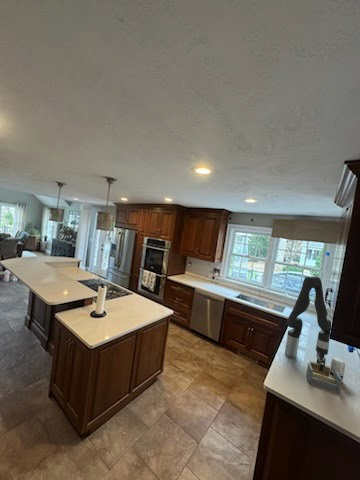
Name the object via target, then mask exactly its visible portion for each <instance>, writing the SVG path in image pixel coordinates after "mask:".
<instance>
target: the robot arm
mask: <svg viewBox="0 0 360 480" xmlns="http://www.w3.org/2000/svg"><path fill="white" fill-rule="evenodd" d="M312 289H313V290H314V293H315V294H314V295H315V297H314V303H313V304H314V308H315V311H316V322H317V326H318V327H319V328H320V331H318V334H317V339H316V346H315V351H316V357H315V358H316V363H319V364H320V366H319V370H320V371H323V367H325V366H326V360H327V358H326V357H325V356H327V355H329V347H330V338H329V337H330V336H331V334H330V330H331V322H332V320H330V319H329V318H327V316H328V310H327V309H328V308H327V306H326V303H325V299H324V298H325V297H324V291H323V283H322V280H321V278H320V277H319V276H318V275H310V276H309V275H308V276H305V277H304V278H303V281H302V286H301V289H300V292H299V294H298V295H297V299H296V301H295V303H294V305H293V308H292V311H291V312H290V313H289V316H288V318H287V321H286V323H287V327H289V328H290V329H289V330H288V331H287V336H286V342H285V349H284V354H285V355H286V356H287V357H289V358H291V359H292V358H293V359H297V357H298V350H299V344H300V343H299V342H300V337H301V335H302V332H303V331H302V330H303V326H304V325H303V320H302V318H300V317H299V316H300V315H301V314H304V313H305V312H306V311H307V310H308V309H309V307H310V303H311V299H310V298H311V297H310V293H311V290H312Z"/></svg>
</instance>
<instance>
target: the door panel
mask: <svg viewBox="0 0 360 480" xmlns="http://www.w3.org/2000/svg"><path fill="white" fill-rule="evenodd" d="M309 363H310V364H311V367H312V369H313V372H314V373H317V374H320V375H323V376H327V377H329V372H330V366H328V365H325V367H323V371H320V370H319V366H320V364H319V363H317V362H316V361H309Z"/></svg>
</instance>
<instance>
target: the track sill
mask: <svg viewBox="0 0 360 480" xmlns="http://www.w3.org/2000/svg"><path fill="white" fill-rule="evenodd" d="M305 376H306V377H305V378H306V379H307V383H308V384H309V385H312V386H315V387H319V388H322V389H324V390H328V391H330V392H332V393H336V394H340V393H341V386H342V382H341V380H342V379H341V377H340V376H339V374H338V372H337V371H335V373H334V379H333V378H330V377H327V376H323V375H320V374H317V373H314V372H313V369H312V367H311V364H310V362H307V369H306V375H305Z"/></svg>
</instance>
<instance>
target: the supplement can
mask: <svg viewBox="0 0 360 480" xmlns="http://www.w3.org/2000/svg"><path fill="white" fill-rule="evenodd" d="M329 368H330V372H329V377H330V378H333V379H334V373H335V371H337V372H338V374H339V376H340V377H341V379H342V380H341V383H343V381H344V375H345V368H346V363H345V360H343V359H342V358H339V357H336V356H332V358H331V361H330V366H329Z"/></svg>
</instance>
